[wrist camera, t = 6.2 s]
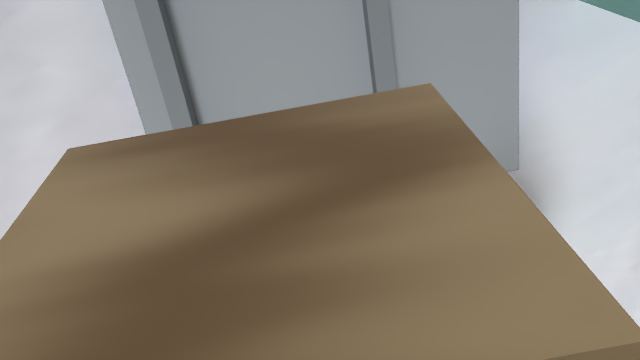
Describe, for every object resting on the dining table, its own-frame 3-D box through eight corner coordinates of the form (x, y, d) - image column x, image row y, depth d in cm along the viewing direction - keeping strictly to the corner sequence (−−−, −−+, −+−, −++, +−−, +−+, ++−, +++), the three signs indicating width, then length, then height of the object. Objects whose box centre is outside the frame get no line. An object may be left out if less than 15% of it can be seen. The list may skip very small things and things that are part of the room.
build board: (509, -120, 22) (532, -120, 20) (510, 160, 27) (529, 181, 26) (95, -45, 22) (79, -39, 20) (180, 220, 27) (173, 245, 25)
